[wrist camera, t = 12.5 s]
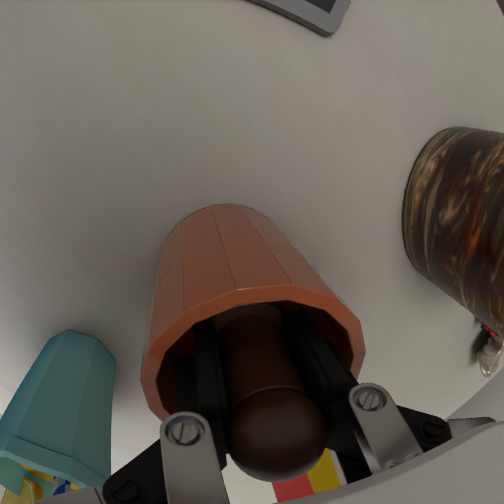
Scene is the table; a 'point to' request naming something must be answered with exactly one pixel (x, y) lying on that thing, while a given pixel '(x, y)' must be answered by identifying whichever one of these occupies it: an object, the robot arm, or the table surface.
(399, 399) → the table surface
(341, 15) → the smartphone
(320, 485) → the cube
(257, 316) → the pawn
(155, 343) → the terracotta cup
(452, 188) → the jar
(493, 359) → the ornament
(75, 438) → the cup
